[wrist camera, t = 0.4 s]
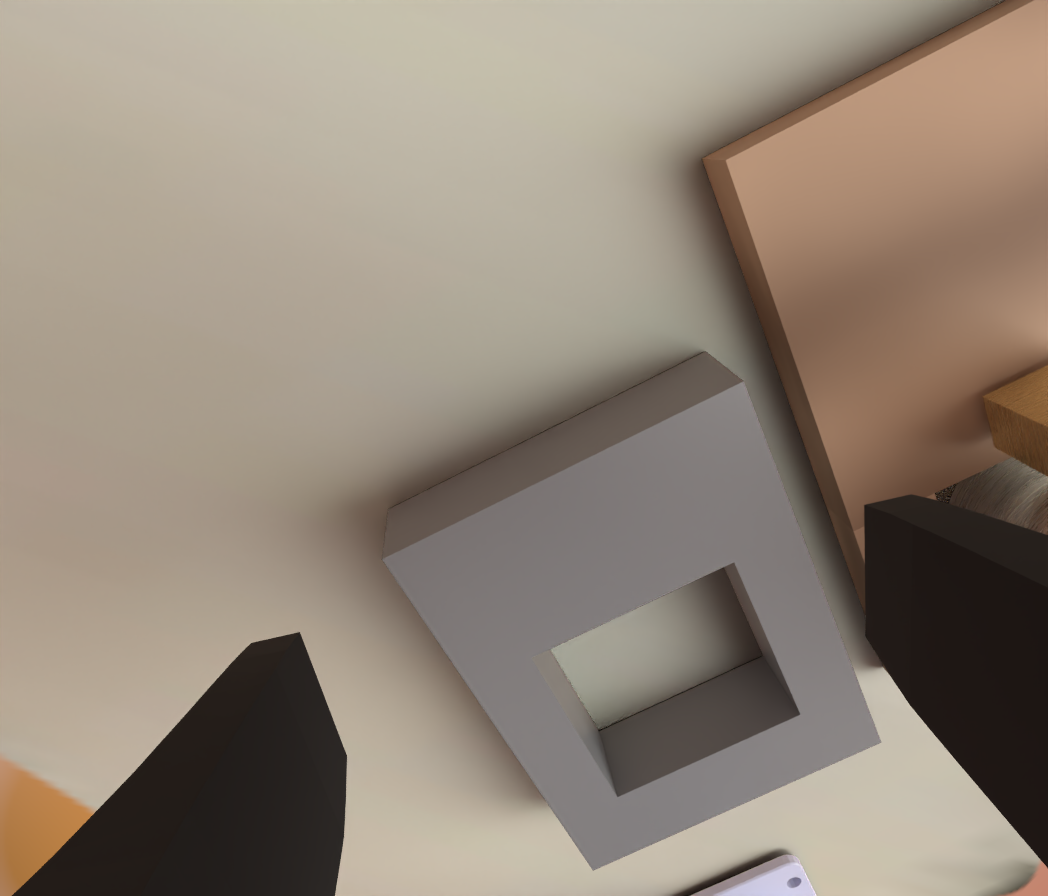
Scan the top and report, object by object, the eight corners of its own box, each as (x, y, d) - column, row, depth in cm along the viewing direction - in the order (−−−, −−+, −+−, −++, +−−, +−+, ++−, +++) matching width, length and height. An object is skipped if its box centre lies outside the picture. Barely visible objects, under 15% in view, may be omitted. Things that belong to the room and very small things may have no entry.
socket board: (1193, 528, 22) (1241, 553, 21) (883, 668, 23) (912, 701, 22) (1126, -62, 16) (1190, -82, 15) (701, 158, 17) (725, 160, 15)
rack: (837, 682, 23) (881, 742, 21) (577, 800, 24) (592, 870, 22) (705, 351, 19) (743, 381, 16) (388, 509, 19) (381, 559, 17)
